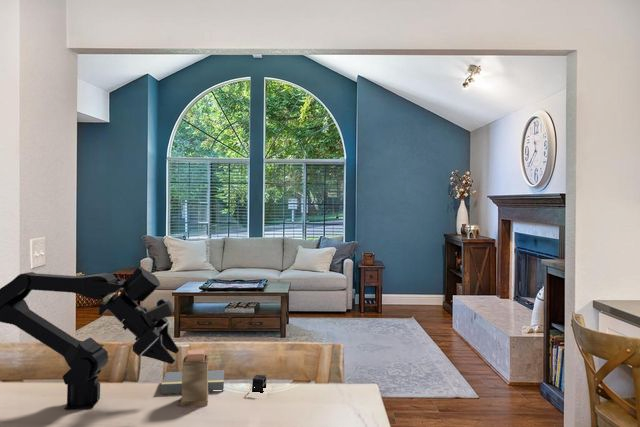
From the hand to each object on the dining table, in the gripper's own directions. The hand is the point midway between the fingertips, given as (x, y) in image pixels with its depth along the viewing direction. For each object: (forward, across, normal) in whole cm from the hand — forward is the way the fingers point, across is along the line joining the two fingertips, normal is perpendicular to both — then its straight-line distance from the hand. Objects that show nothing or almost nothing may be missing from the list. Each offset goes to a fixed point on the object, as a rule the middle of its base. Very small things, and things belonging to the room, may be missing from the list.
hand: (175, 357), depth 122 cm
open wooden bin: (+12, 0, +5) cm, 12 cm away
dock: (+11, +11, +5) cm, 16 cm away
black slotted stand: (+24, +4, -6) cm, 25 cm away
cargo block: (+4, 0, -2) cm, 5 cm away
